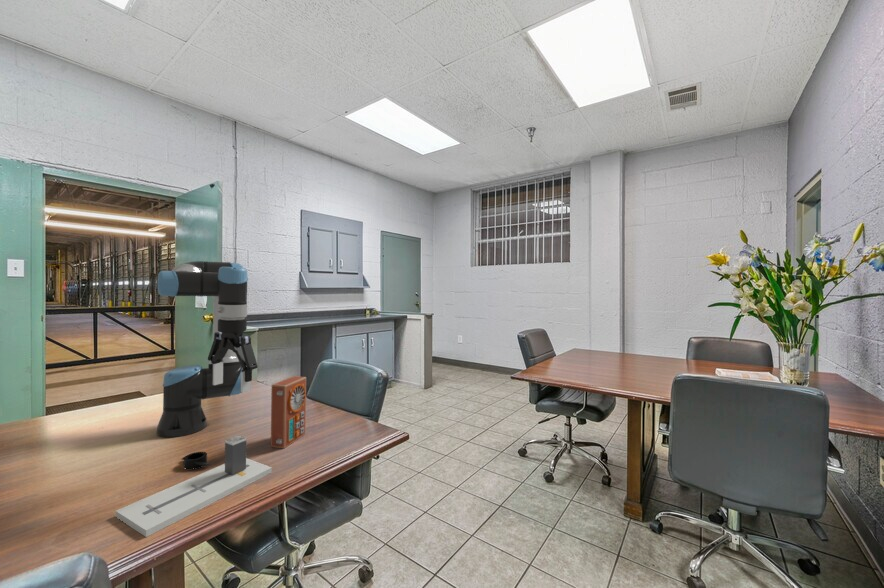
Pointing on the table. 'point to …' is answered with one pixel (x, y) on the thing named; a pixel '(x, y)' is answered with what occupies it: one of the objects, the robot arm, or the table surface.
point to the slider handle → (235, 455)
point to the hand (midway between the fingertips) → (231, 388)
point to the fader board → (187, 497)
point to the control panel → (288, 411)
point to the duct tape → (195, 460)
